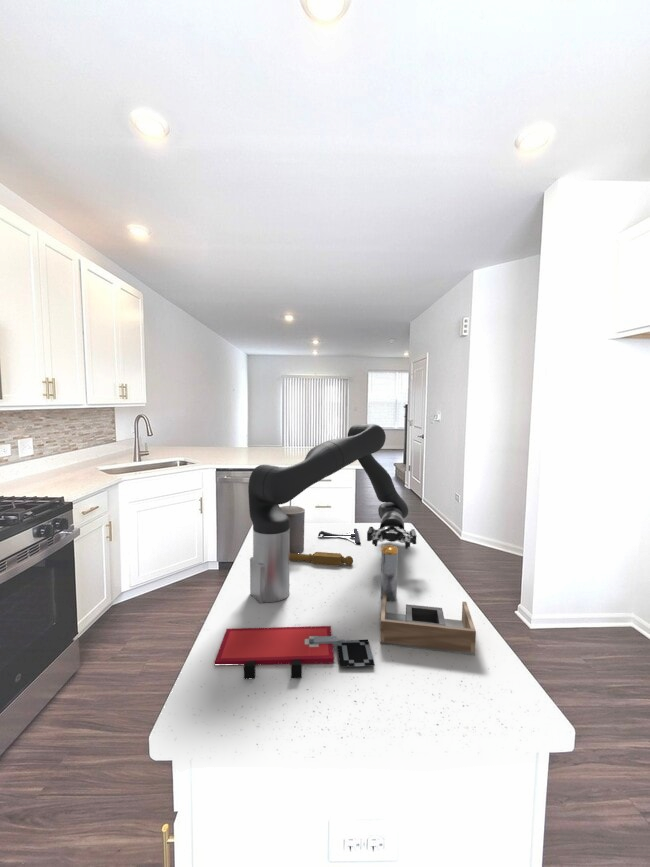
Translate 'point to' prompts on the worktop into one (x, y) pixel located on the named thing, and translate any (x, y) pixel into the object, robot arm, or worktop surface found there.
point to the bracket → (342, 535)
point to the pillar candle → (295, 527)
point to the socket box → (428, 629)
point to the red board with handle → (289, 648)
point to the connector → (389, 572)
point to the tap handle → (322, 558)
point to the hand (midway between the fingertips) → (391, 544)
